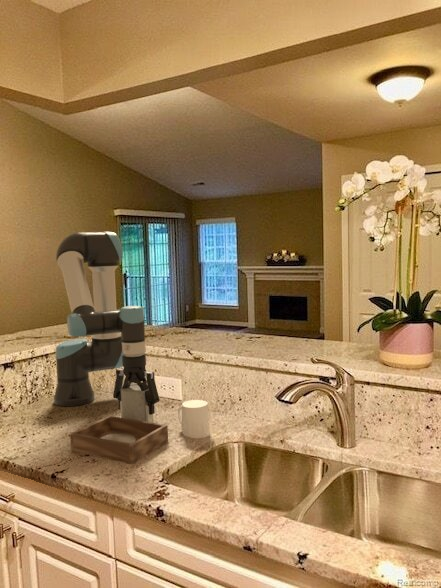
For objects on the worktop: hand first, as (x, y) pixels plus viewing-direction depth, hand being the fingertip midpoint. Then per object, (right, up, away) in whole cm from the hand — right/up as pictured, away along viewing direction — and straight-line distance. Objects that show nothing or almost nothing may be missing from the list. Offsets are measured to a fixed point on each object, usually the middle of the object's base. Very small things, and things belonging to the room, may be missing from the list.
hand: (137, 421), depth 161 cm
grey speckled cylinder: (0, -1, 0) cm, 1 cm away
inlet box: (-2, -3, -17) cm, 17 cm away
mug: (+19, -2, -7) cm, 20 cm away
